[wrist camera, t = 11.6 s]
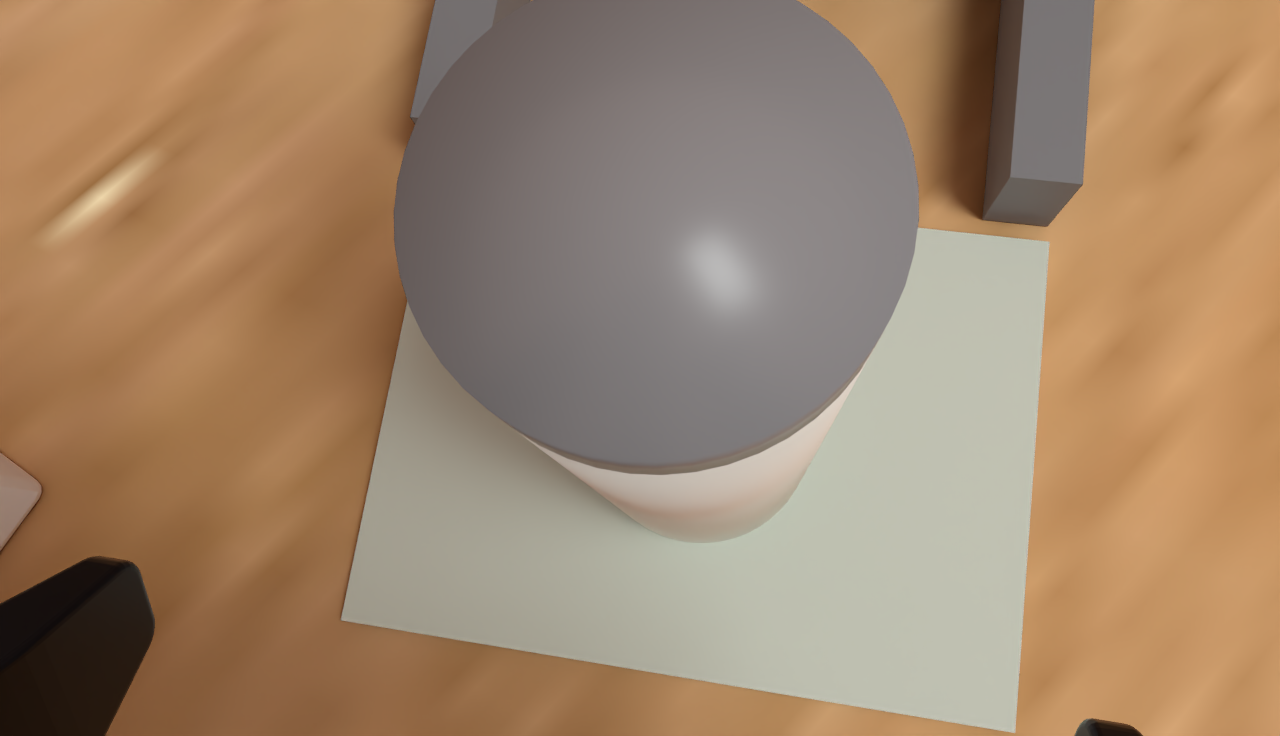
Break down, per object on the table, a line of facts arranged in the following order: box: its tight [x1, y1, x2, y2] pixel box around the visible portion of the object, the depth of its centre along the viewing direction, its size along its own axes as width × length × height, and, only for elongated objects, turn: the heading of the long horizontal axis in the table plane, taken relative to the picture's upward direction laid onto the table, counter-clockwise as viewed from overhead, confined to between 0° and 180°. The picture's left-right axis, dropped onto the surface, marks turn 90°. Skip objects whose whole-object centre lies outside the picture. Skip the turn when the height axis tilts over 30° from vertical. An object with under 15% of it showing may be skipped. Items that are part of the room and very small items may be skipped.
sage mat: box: [341, 228, 1049, 733], centre depth 23 cm, size 11×15×1 cm
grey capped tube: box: [394, 0, 919, 543], centre depth 16 cm, size 5×5×14 cm
